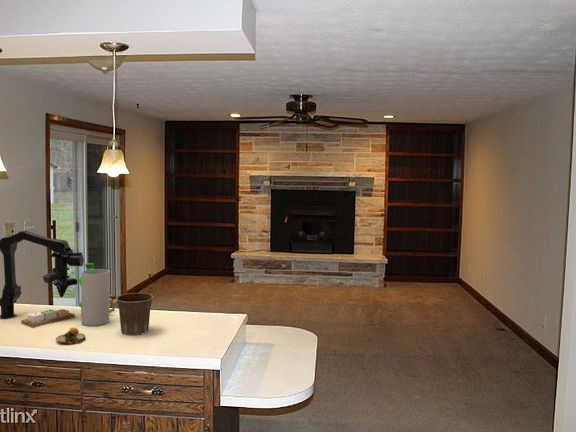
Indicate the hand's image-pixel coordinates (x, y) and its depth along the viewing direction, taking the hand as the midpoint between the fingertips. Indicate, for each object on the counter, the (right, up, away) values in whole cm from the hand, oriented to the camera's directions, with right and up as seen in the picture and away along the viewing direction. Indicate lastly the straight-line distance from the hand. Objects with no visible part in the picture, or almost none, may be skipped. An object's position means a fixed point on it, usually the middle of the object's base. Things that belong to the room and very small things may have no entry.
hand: (61, 297), depth 246 cm
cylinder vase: (+19, -12, -6) cm, 23 cm away
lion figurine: (+19, -10, +11) cm, 24 cm away
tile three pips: (-1, -10, +1) cm, 10 cm away
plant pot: (+42, -13, -17) cm, 47 cm away
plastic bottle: (+9, -10, +13) cm, 19 cm away
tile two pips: (-4, -9, -5) cm, 11 cm away
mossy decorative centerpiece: (+18, -14, -32) cm, 39 cm away
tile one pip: (-8, -10, -10) cm, 16 cm away
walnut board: (-4, -11, -4) cm, 12 cm away
